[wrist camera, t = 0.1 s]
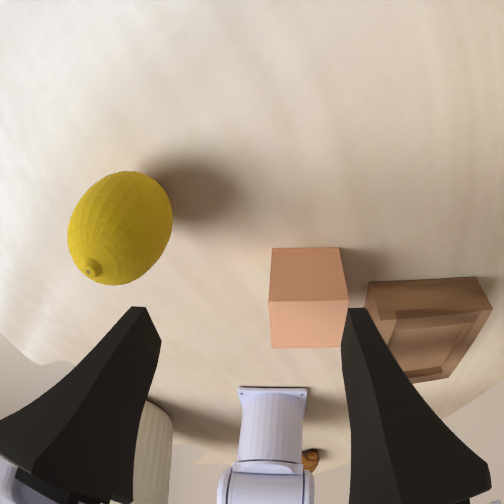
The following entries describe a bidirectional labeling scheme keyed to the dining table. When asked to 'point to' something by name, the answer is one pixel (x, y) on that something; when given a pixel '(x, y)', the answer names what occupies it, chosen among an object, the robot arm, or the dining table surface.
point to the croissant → (310, 460)
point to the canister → (152, 457)
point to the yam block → (307, 298)
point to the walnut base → (428, 322)
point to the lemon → (120, 228)
